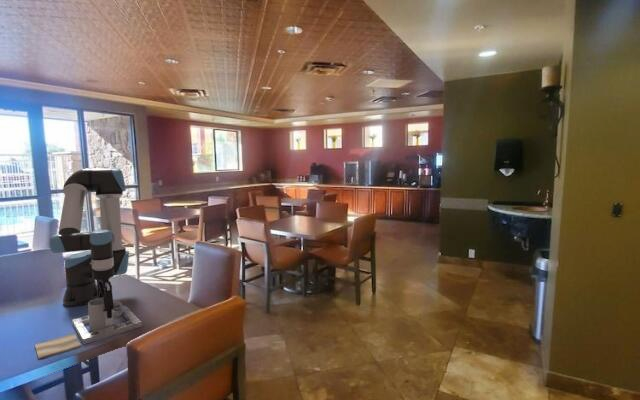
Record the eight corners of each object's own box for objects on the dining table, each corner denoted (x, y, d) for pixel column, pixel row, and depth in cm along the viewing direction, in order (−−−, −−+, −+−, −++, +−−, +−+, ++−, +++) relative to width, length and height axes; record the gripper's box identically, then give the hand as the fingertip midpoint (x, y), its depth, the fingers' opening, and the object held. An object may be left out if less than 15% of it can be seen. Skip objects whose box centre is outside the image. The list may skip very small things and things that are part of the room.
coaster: (34, 346, 124) (34, 344, 124) (74, 334, 132) (74, 333, 132) (38, 359, 116) (38, 358, 115) (80, 346, 124) (80, 344, 124)
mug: (90, 333, 133) (88, 307, 132) (89, 325, 140) (87, 300, 139) (124, 325, 140) (123, 300, 139) (122, 317, 147) (120, 293, 146)
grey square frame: (72, 324, 141) (72, 319, 141) (125, 309, 155) (125, 305, 155) (83, 344, 125) (83, 339, 125) (141, 326, 139) (141, 321, 139)
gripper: (86, 264, 142) (90, 315, 145) (98, 276, 127) (102, 333, 130) (107, 260, 148) (110, 310, 150) (120, 272, 133) (124, 326, 135)
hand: (106, 321), depth 140 cm, fingers closed on mug, 8 cm apart
